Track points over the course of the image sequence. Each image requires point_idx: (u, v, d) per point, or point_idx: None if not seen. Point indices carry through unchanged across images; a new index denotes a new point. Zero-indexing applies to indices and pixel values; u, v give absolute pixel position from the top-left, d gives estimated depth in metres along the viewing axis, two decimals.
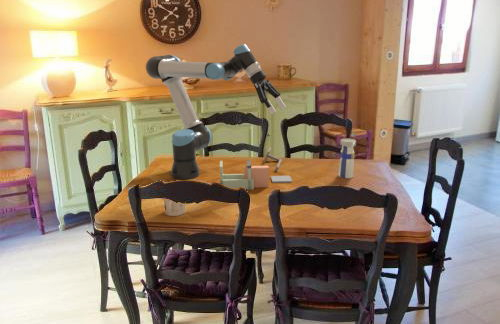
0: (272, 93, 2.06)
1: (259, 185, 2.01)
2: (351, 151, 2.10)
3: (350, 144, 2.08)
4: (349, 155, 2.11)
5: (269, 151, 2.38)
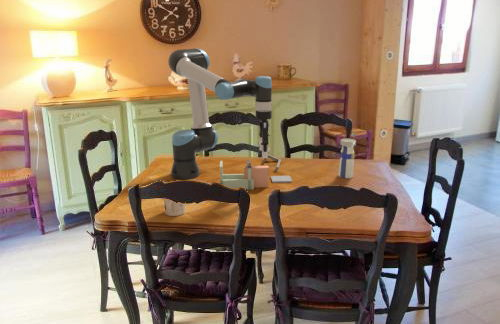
0: (262, 132, 2.01)
1: (259, 185, 2.01)
2: (351, 151, 2.10)
3: (350, 144, 2.08)
4: (349, 155, 2.11)
5: (268, 151, 2.38)
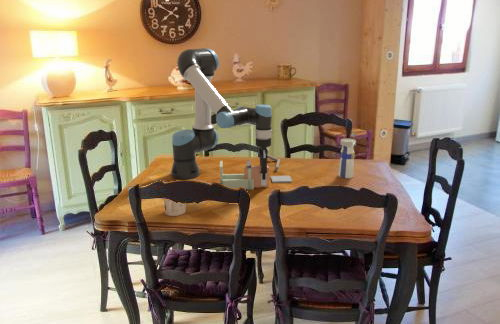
0: None
1: (260, 185, 2.01)
2: (351, 151, 2.10)
3: (350, 144, 2.08)
4: (349, 155, 2.11)
5: None
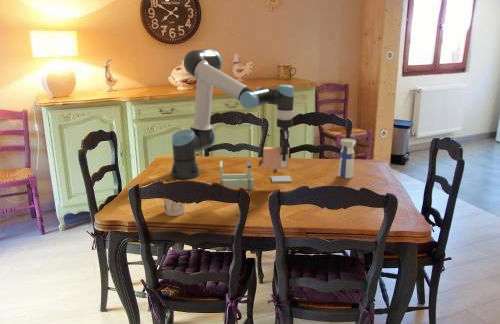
0: (282, 144, 2.00)
1: (279, 166, 2.00)
2: (351, 151, 2.10)
3: (350, 144, 2.08)
4: (349, 155, 2.11)
5: None
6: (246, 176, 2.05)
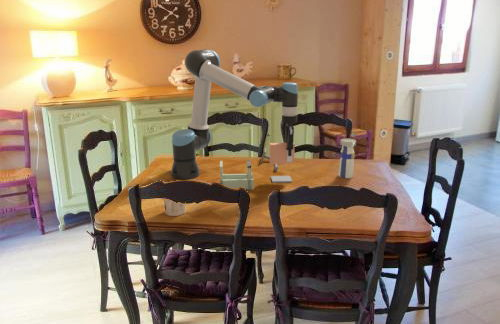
0: None
1: (285, 161, 2.07)
2: (351, 151, 2.10)
3: (350, 144, 2.08)
4: (349, 155, 2.11)
5: None
6: (246, 176, 2.05)
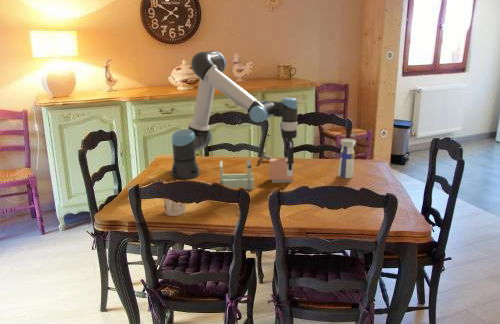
0: (287, 151, 2.11)
1: (285, 177, 2.10)
2: (351, 151, 2.10)
3: (350, 144, 2.08)
4: (349, 155, 2.11)
5: None
6: (246, 176, 2.05)
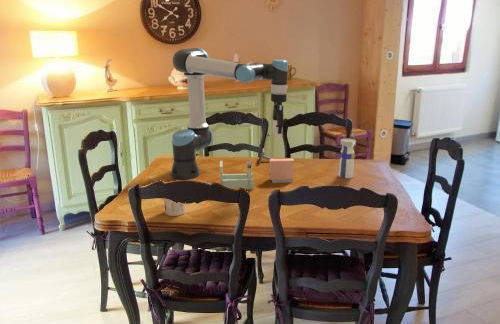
0: (276, 115, 2.05)
1: (285, 177, 2.10)
2: (351, 151, 2.10)
3: (350, 144, 2.08)
4: (349, 155, 2.11)
5: None
6: (246, 176, 2.05)
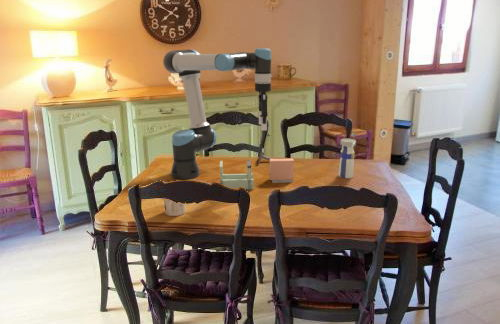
0: (261, 106, 2.01)
1: (285, 177, 2.10)
2: (351, 151, 2.10)
3: (350, 144, 2.08)
4: (349, 155, 2.11)
5: (263, 152, 2.37)
6: (246, 176, 2.05)
